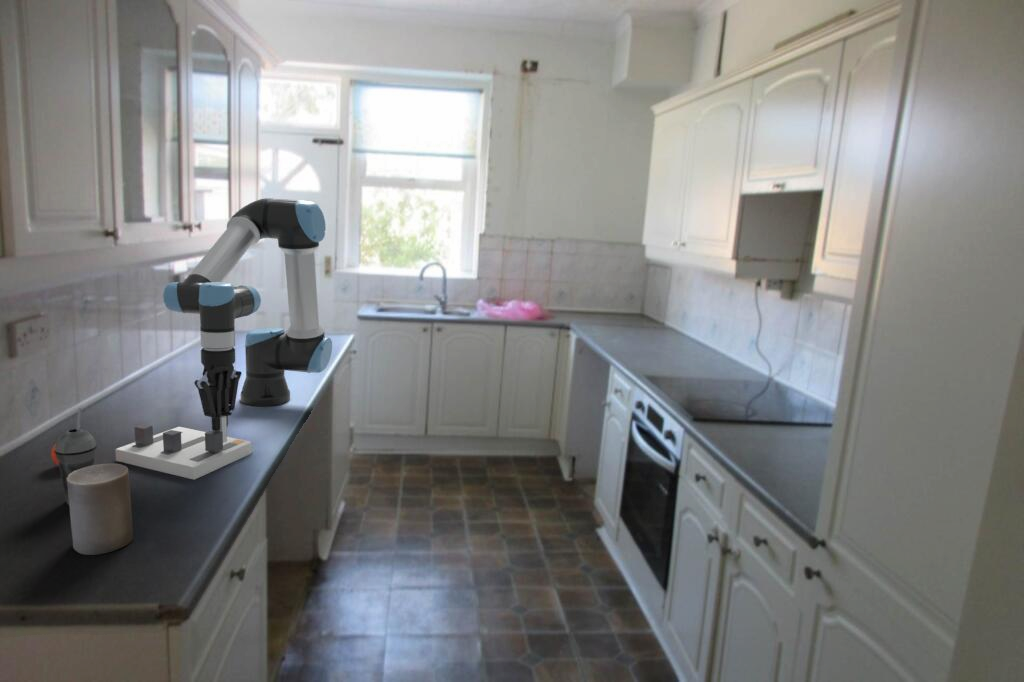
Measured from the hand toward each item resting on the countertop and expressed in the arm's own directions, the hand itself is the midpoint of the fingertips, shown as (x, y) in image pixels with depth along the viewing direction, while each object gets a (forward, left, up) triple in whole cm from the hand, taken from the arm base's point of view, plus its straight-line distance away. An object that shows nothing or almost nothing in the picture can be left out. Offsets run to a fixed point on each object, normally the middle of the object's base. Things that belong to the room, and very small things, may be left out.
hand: (220, 441), depth 161 cm
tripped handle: (+2, 0, -2) cm, 3 cm away
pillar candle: (+40, +10, -5) cm, 41 cm away
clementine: (+18, -27, -5) cm, 33 cm away
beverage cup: (+30, -9, -5) cm, 32 cm away
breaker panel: (+2, -9, -5) cm, 11 cm away
